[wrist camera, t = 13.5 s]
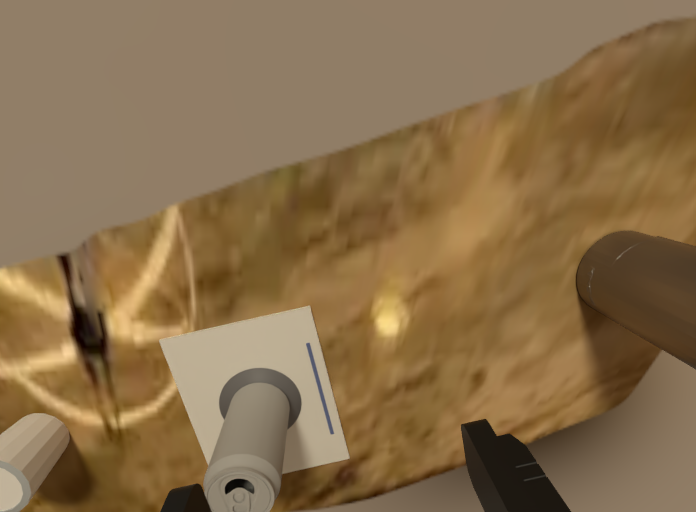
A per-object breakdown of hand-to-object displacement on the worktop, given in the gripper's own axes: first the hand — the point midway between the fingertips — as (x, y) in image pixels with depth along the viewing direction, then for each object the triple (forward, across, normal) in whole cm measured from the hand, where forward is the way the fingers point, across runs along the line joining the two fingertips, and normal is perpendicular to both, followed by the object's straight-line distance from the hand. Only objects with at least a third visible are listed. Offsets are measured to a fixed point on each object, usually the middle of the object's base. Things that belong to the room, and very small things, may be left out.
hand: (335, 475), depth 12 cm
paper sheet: (+28, +11, +16) cm, 34 cm away
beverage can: (+28, +11, +16) cm, 34 cm away
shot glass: (+28, +35, +14) cm, 47 cm away
